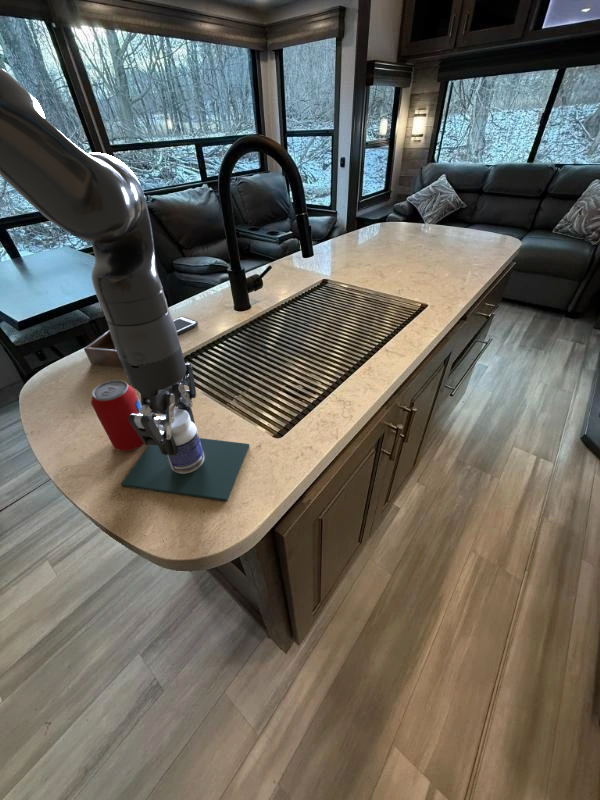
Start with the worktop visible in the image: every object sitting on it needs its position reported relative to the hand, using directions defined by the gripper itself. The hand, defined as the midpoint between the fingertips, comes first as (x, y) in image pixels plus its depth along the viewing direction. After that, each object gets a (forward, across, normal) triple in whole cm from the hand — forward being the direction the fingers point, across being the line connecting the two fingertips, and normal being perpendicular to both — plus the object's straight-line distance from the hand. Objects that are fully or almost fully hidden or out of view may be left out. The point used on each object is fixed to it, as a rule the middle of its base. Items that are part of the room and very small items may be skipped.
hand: (179, 438), depth 53 cm
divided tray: (+6, -32, -29) cm, 44 cm away
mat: (+6, 0, 0) cm, 6 cm away
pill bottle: (+6, 0, 0) cm, 6 cm away
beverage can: (+7, -4, -13) cm, 15 cm away
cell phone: (+6, -47, -27) cm, 55 cm away
